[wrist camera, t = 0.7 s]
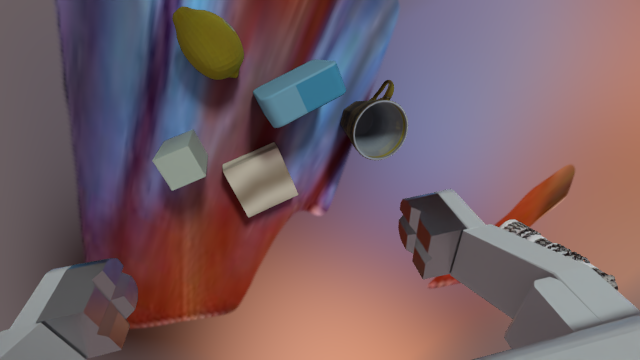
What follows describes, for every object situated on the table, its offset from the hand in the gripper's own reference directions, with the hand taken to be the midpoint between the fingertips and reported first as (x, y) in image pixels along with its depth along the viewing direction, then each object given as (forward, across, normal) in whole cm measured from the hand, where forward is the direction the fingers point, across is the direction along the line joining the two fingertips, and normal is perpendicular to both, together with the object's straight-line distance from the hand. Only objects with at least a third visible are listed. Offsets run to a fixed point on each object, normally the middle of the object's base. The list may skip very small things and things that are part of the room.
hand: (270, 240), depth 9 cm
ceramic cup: (+46, -17, +18) cm, 52 cm away
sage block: (+42, +15, +18) cm, 47 cm away
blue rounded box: (+46, -4, +11) cm, 47 cm away
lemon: (+46, +7, +3) cm, 46 cm away
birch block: (+42, +4, +26) cm, 49 cm away
